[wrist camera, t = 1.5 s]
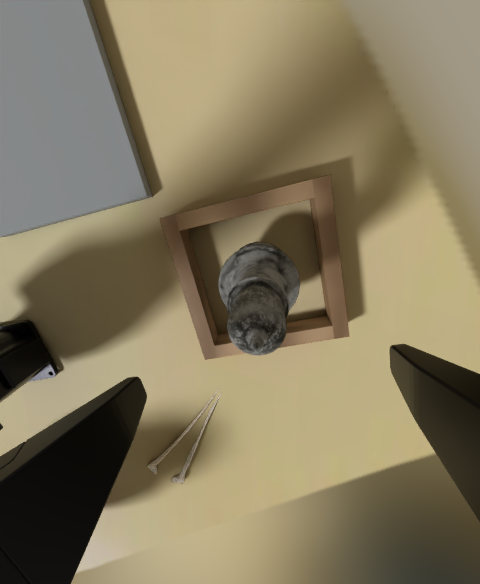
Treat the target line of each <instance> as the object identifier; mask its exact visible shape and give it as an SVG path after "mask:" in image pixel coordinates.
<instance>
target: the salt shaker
mask: <svg viewBox="0 0 480 584" xmlns="http://www.w3.org/2000/svg"><path fill="white" fill-rule="evenodd" d="M299 288H300V280H299V274H298V271H297V269H296V267H295V265H294V263H293V262H292V261H291V260H290V258H289V257H288V256H287V255H286V254H284V253H283V252H282V251H281V250H280V249H278V248H277V247H275V246H273V245H271V244H267V243H259V242H256V243H252V244H248V245H246V246H244V247H242V248H241V249H240V250H239V251H237V252H235V253H234V254H233V255H232V256H231V257H230V258H229V259H227V261H226V262H225V264H224V266H223V267H222V269H221V272H220V276H219V292H220V296H221V299H222V301H223V302H224V304H225V306H226V307H227V310H228V313H229V318H228V322H227V330H228V334H229V337H230V339H231V341H232V343H233V344H234V345H235V346H236V347H237V348H238V349H239V350H241V351H243V352H245V353H248V354H251V355H265V354H269V353H271V352H273V351H275V350H276V349H278V348H279V347H280V345H281V344H282V343H283V341H284V339H285V336H286V331H287V324H286V317H287V315H288V312H289V310H290V309H291V307H292V306H293V305H294V303H295V302H296V299H297V297H298V294H299Z"/></svg>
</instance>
